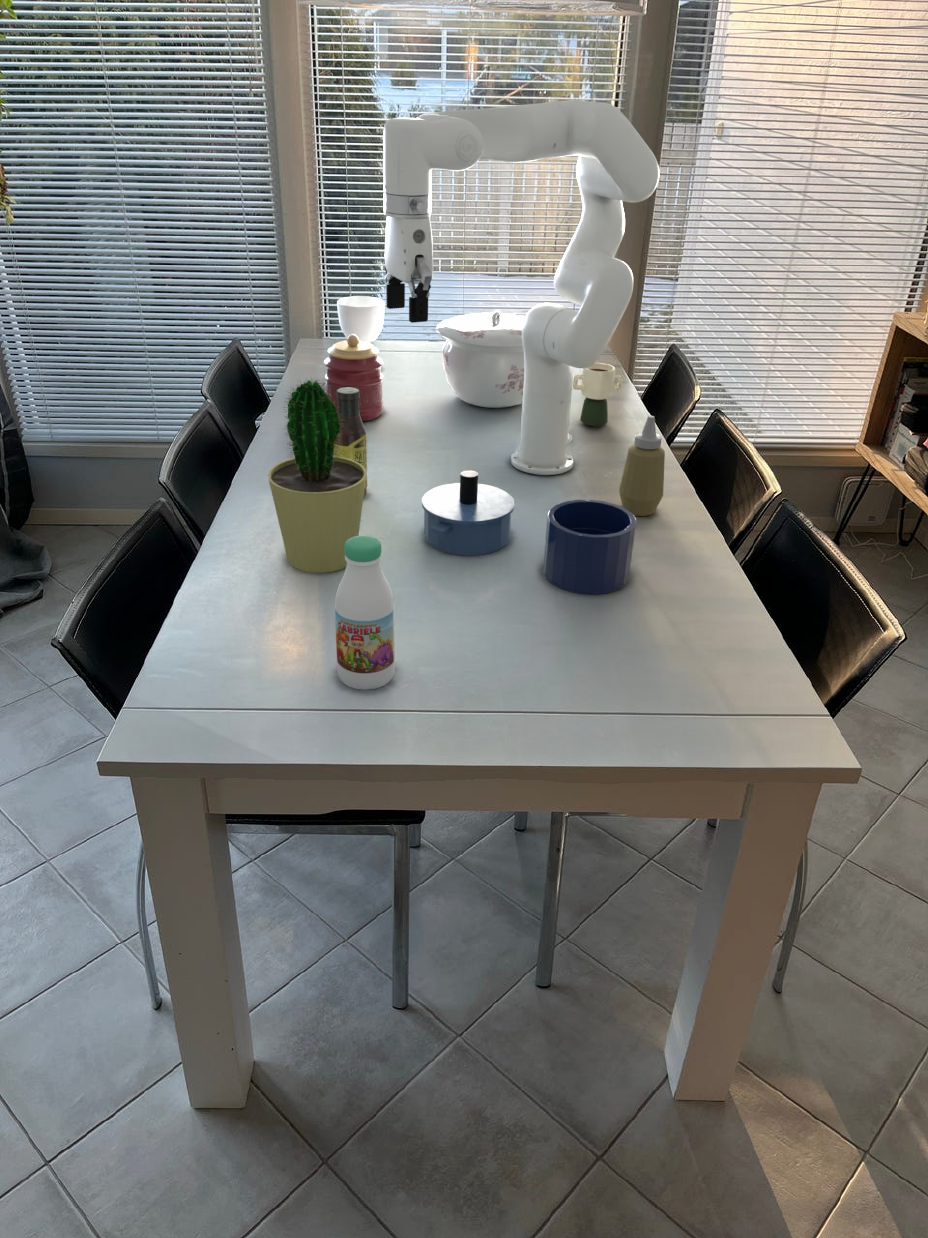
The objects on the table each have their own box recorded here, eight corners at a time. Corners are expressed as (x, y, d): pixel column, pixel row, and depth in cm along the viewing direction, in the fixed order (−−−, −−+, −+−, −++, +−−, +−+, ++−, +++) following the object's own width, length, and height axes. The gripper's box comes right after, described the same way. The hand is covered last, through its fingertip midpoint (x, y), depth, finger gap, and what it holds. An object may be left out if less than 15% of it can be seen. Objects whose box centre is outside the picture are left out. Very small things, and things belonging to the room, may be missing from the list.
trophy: (613, 418, 221) (619, 362, 214) (620, 429, 215) (627, 371, 208) (566, 418, 220) (571, 362, 213) (572, 429, 214) (577, 371, 207)
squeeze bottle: (663, 505, 181) (677, 412, 171) (656, 522, 174) (670, 427, 165) (621, 498, 183) (632, 406, 173) (612, 515, 176) (624, 420, 167)
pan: (399, 547, 163) (399, 514, 160) (460, 506, 178) (461, 475, 175) (474, 569, 157) (476, 536, 154) (530, 525, 172) (533, 494, 168)
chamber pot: (462, 424, 215) (465, 330, 204) (417, 387, 236) (418, 300, 225) (572, 411, 225) (580, 320, 214) (520, 376, 246) (525, 293, 235)
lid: (403, 512, 162) (403, 478, 159) (452, 481, 174) (453, 449, 170) (485, 536, 155) (487, 500, 152) (530, 502, 167) (532, 468, 164)
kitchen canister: (394, 416, 218) (393, 338, 209) (343, 426, 212) (340, 345, 202) (366, 400, 227) (364, 324, 218) (316, 409, 221) (312, 331, 211)
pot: (565, 546, 165) (570, 492, 160) (641, 567, 159) (649, 512, 154) (528, 579, 155) (532, 522, 149) (608, 603, 149) (615, 545, 144)
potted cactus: (372, 576, 154) (368, 392, 138) (274, 581, 151) (259, 395, 136) (365, 533, 167) (360, 361, 151) (274, 538, 164) (260, 363, 149)
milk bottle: (338, 659, 133) (332, 528, 123) (394, 658, 134) (393, 528, 123) (336, 692, 127) (330, 557, 116) (395, 690, 127) (394, 556, 117)
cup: (339, 362, 252) (337, 295, 243) (384, 362, 253) (383, 295, 244) (339, 376, 242) (336, 306, 233) (386, 376, 243) (385, 307, 234)
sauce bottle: (362, 503, 178) (359, 397, 167) (329, 499, 179) (324, 394, 168) (372, 489, 183) (369, 386, 173) (340, 485, 184) (336, 383, 174)
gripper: (451, 212, 149) (448, 325, 157) (407, 196, 162) (407, 301, 171) (406, 214, 146) (406, 329, 154) (365, 198, 159) (367, 304, 168)
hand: (406, 314), depth 163 cm, fingers open, 9 cm apart
